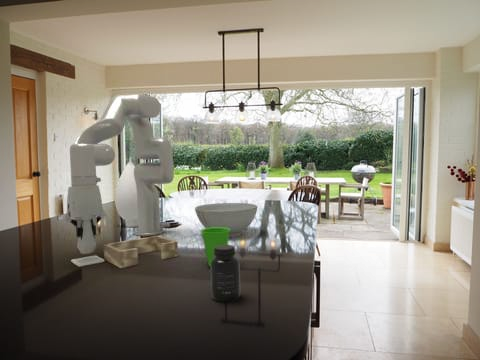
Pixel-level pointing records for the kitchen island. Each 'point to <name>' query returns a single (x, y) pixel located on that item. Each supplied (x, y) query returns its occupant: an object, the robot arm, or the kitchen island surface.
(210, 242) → the cup
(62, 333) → the kitchen island surface
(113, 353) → the kitchen island surface
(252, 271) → the kitchen island surface
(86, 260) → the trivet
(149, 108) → the robot arm
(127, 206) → the lamp
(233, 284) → the supplement bottle
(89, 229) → the salt shaker
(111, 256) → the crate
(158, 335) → the kitchen island surface
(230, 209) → the decorative bowl
